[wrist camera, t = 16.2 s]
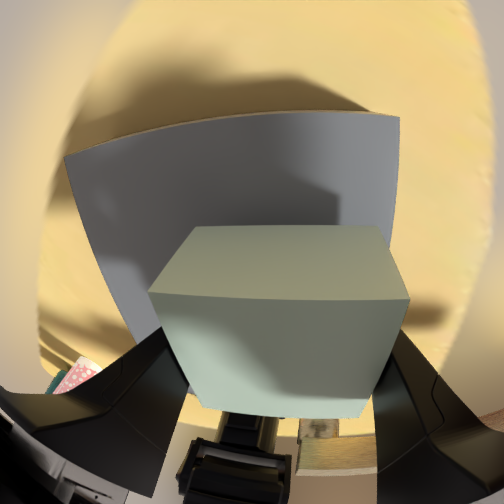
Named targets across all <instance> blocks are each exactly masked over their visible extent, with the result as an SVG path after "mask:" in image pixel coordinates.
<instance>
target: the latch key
mask: <svg viewBox="0 0 504 504" xmlns="http://www.w3.org/2000/svg"><path fill="white" fill-rule="evenodd" d="M478 418H479V419H480V420H481V421H482V422H483V423H484V424H485V425H486V426H488V427H489V428H491V429H493V430H496V431H500V432H504V408H503V409H500V410H498V411H495V412H492V413H489V414H486V415H483V416H479V417H478ZM297 444H298V445H299V449H298V458H297V465H296V472H295V475H299V476H300V475H301V476H343V475H359V474H370V473H377V452H376V436H370V437H353V438H339V419H308V418H300V421H299V430H298V439H297Z"/></svg>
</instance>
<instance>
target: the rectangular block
mask: <svg viewBox="0 0 504 504" xmlns="http://www.w3.org/2000/svg"><path fill="white" fill-rule="evenodd" d="M147 293H148V295H149V298H150V300H151V302H152V305H153V307H154V310H155V312H156V314H157V317H158V319H159V321H160V324H161V326H162V328H163V330H164V333H165V335H166V337H167V339H168V341H169V343H170V346H171V348H172V350H173V352H174V354H175V356H176V358H177V360H178V362H179V364H180V366H181V368H182V370H183V372H184V374H185V376H186V378H187V380H188V381H189V383H190V385H191V387H192V389H193V391H194V393H195V394H196V396H197V398H198V400H199V402H200V403H201V405H202V407H204V408H209V409H215V410H221V411H228V412H235V413H242V414H250V415H260V416H271V417H284V418H308V419H339V418H359V416H360V415H361V413H362V411H363V409H364V407H365V406H366V404H367V402H368V400H369V398H370V396H371V394H372V392H373V390H374V388H375V386H376V384H377V382H378V380H379V378H380V376H381V373H382V371H383V369H384V367H385V365H386V362H387V360H388V358H389V355H390V353H391V351H392V348H393V346H394V343H395V341H396V338H397V336H398V333H399V330H400V328H401V325H402V322H403V319H404V316H405V314H406V311H407V308H408V305H409V302H410V297H409V294H408V292H407V289H406V287H405V284H404V282H403V279H402V277H401V275H400V272H399V270H398V268H397V265H396V263H395V261H394V259H393V257H392V254H391V252H390V250H389V248H388V246H387V244H386V242H385V239H384V237H383V235H382V233H381V231H380V229H379V227H378V226H360V225H248V226H201V227H195V228H194V229H193V231H192V232H191V233H190V235H189V236H188V237H187V238H186V240H185V241H184V242H183V244H182V245H181V246H180V248H179V249H178V250H177V252H176V253H175V254H174V255H173V257H172V258H171V259H170V261H169V262H168V264H167V265H166V266H165V268H164V269H163V270H162V272H161V273H160V274H159V276H158V277H157V279H156V280H155V281H154V283H153V284H152V285H151V287H150V288H149V290H148V291H147Z"/></svg>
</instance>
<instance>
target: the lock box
mask: <svg viewBox="0 0 504 504" xmlns="http://www.w3.org/2000/svg"><path fill="white" fill-rule="evenodd" d="M399 141H400V117H397V116H392V115H386V114H381V113H375V112H366V111H348V110H289V111H270V112H257V113H246V114H236V115H228V116H220V117H213V118H206V119H200V120H194V121H188V122H182V123H177V124H172V125H167V126H162V127H158V128H153V129H149V130H145V131H141V132H137V133H133V134H129V135H125V136H122V137H118V138H115V139H111V140H108V141H105V142H102V143H100V144H97V145H94V146H91V147H89V148H86V149H83V150H81V151H78V152H76V153H73V154H71V155H68V156H66V157H64V161H65V165H66V169H67V173H68V177H69V181H70V184H71V188H72V191H73V195H74V198H75V202H76V205H77V208H78V211H79V214H80V217H81V220H82V223H83V226H84V229H85V232H86V235H87V237H88V240H89V243H90V245H91V248H92V251H93V253H94V256H95V258H96V261H97V263H98V266H99V268H100V270H101V273H102V275H103V277H104V280H105V282H106V284H107V286H108V288H109V291H110V293H111V295H112V297H113V299H114V301H115V303H116V305H117V307H118V309H119V311H120V313H121V315H122V317H123V319H124V321H125V323H126V325H127V327H128V329H129V331H130V332H131V334H132V336H133V338H134V340H135V341H136V343H137V344H138V343H140V342H141V341H142V340H144V339H145V338H146V337H148V336H149V335H150V334H151V333H153V332H154V331H155V330H157V329H158V328H159V327H161V324H160V321H159V319H158V317H157V314H156V312H155V310H154V307H153V305H152V302H151V300H150V298H149V295H148V293H147V291H148V290H149V288H150V287H151V285H152V284H153V283H154V281H155V280H156V279H157V277H158V276H159V274H160V273H161V272H162V270H163V269H164V268H165V266H166V265H167V264H168V262H169V261H170V259H171V258H172V257H173V255H174V254H175V253H176V252H177V250H178V249H179V248H180V246H181V245H182V244H183V242H184V241H185V240H186V238H187V237H188V236H189V235H190V233H191V232H192V231H193V229H194V228H195V227H201V226H248V225H360V226H378V227H379V229H380V231H381V233H382V235H383V237H384V239H385V242H386V244H387V246H388V248H389V247H390V241H391V234H392V227H393V220H394V212H395V203H396V193H397V182H398V167H399ZM187 393H191V394H195V393H194V391H193V389H192V387H191V385H189V388H188V391H187Z"/></svg>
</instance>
